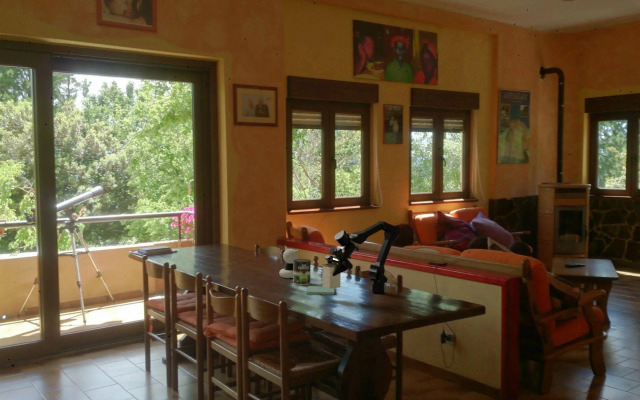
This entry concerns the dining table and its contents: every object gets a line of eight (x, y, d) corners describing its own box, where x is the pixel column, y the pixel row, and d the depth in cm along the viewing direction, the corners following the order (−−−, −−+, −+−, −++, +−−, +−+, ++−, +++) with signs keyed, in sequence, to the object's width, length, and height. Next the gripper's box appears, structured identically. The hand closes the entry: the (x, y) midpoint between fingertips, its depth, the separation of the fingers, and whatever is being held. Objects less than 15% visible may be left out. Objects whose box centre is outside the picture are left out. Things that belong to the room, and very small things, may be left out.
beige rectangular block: (333, 284, 310) (333, 262, 309) (340, 287, 304) (340, 264, 303) (322, 286, 306) (322, 264, 305) (329, 288, 300) (329, 266, 299)
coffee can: (312, 285, 341) (312, 261, 340) (295, 285, 338) (295, 261, 337) (308, 281, 351) (308, 258, 350) (291, 282, 348) (291, 258, 347)
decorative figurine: (306, 276, 368) (307, 244, 367) (296, 280, 355) (296, 247, 354) (286, 273, 374) (286, 243, 373) (275, 277, 361) (275, 245, 360)
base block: (334, 289, 331) (334, 286, 331) (334, 295, 316) (334, 292, 316) (308, 289, 332) (308, 285, 332) (306, 295, 317) (306, 291, 317)
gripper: (327, 240, 313) (310, 262, 308) (348, 244, 298) (330, 267, 292) (339, 253, 318) (322, 275, 313) (360, 258, 302) (343, 281, 297)
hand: (329, 274), depth 303 cm, fingers closed on beige rectangular block, 7 cm apart
